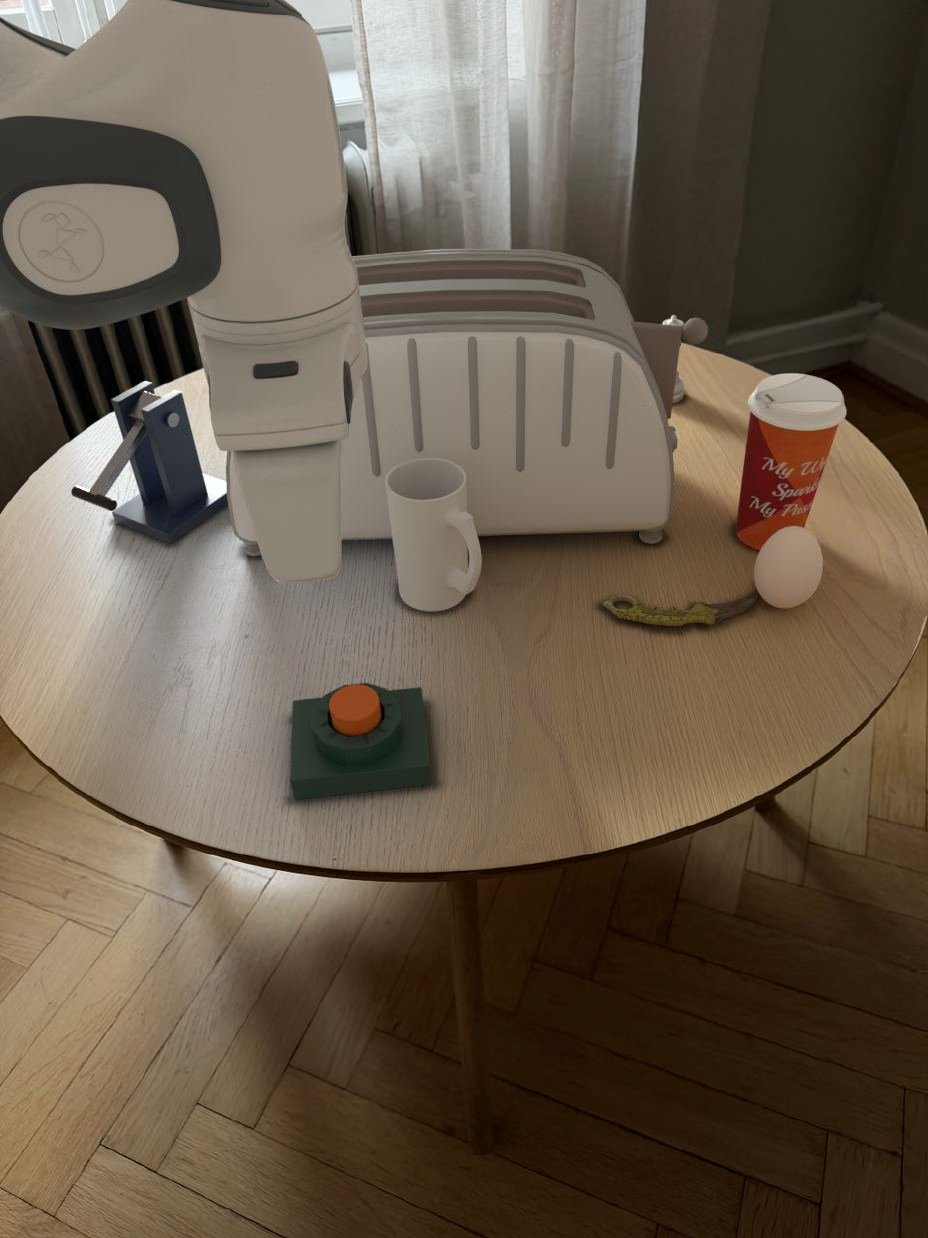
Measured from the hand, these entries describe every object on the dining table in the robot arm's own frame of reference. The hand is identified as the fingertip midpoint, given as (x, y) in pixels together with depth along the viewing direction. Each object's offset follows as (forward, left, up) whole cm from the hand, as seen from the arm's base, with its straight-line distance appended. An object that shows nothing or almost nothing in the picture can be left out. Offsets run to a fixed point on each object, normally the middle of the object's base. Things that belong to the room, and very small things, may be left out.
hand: (320, 548), depth 59 cm
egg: (+38, +11, -19) cm, 44 cm away
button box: (+1, -1, -18) cm, 18 cm away
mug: (+9, +16, -19) cm, 26 cm away
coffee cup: (+41, +21, -19) cm, 49 cm away
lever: (-19, +32, -11) cm, 39 cm away
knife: (+30, +11, -18) cm, 37 cm away
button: (+1, -1, -15) cm, 15 cm away
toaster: (+13, +32, -19) cm, 39 cm away
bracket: (-17, +35, -18) cm, 43 cm away
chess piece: (+39, +50, -19) cm, 66 cm away
